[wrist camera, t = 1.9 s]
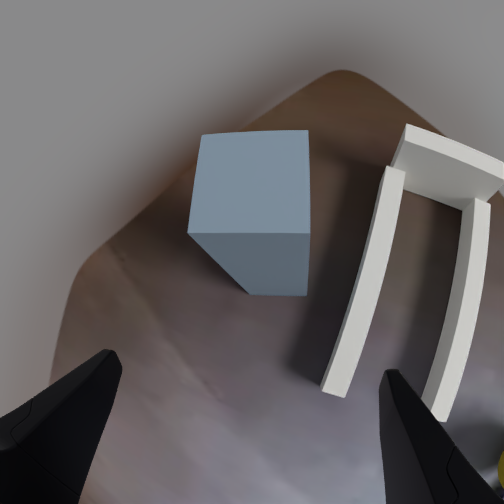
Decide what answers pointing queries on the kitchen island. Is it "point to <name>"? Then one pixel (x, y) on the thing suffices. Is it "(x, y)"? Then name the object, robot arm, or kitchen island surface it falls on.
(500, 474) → the lemon
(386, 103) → the kitchen island surface
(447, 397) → the track
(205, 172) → the blue gray block
